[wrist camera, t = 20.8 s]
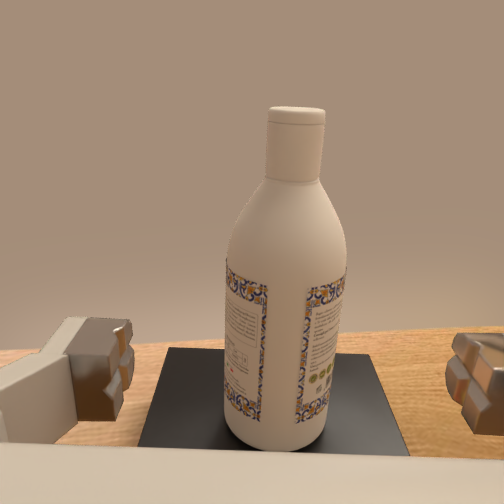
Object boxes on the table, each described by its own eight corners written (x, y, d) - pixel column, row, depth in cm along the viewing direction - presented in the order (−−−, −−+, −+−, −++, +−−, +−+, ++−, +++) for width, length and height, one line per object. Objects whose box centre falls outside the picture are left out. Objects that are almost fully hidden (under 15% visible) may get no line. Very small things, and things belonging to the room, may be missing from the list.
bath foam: (320, 385, 33) (355, 106, 25) (330, 461, 26) (381, 117, 19) (229, 379, 33) (235, 101, 25) (217, 452, 26) (220, 110, 19)
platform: (122, 575, 24) (115, 513, 23) (170, 394, 38) (168, 346, 36) (421, 584, 25) (439, 524, 23) (361, 400, 38) (369, 354, 37)
